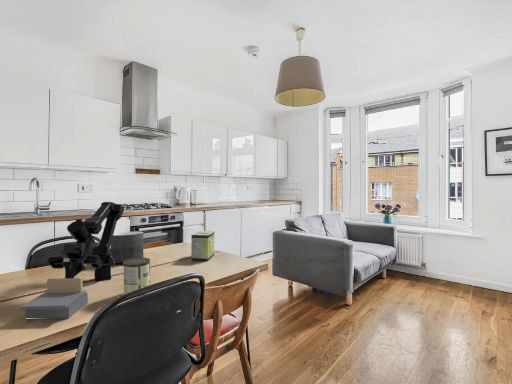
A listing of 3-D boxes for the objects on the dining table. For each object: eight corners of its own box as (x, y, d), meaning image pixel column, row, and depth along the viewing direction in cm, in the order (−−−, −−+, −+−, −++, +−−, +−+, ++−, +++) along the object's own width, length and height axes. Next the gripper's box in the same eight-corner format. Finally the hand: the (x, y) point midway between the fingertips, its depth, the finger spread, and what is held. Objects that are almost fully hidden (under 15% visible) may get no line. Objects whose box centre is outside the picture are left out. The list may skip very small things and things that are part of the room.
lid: (45, 294, 104) (45, 278, 103) (85, 293, 105) (85, 278, 105) (20, 309, 91) (20, 291, 91) (66, 308, 92) (65, 290, 92)
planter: (133, 263, 154) (133, 235, 155) (103, 263, 156) (103, 235, 157) (149, 256, 172) (148, 231, 172) (122, 256, 174) (122, 231, 174)
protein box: (214, 254, 180) (214, 231, 180) (207, 261, 165) (208, 235, 164) (199, 254, 181) (199, 230, 181) (191, 260, 166) (191, 235, 166)
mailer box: (49, 304, 105) (49, 293, 105) (87, 303, 106) (87, 292, 106) (25, 319, 93) (25, 307, 93) (69, 318, 94) (68, 306, 94)
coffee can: (129, 289, 120) (129, 257, 120) (153, 289, 121) (153, 257, 120) (118, 299, 110) (118, 264, 110) (144, 299, 110) (144, 264, 110)
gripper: (49, 235, 108) (28, 272, 98) (98, 235, 110) (84, 271, 99) (62, 250, 116) (44, 286, 106) (107, 250, 118) (95, 285, 107)
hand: (66, 282), depth 104 cm, fingers closed, pressing on lid
